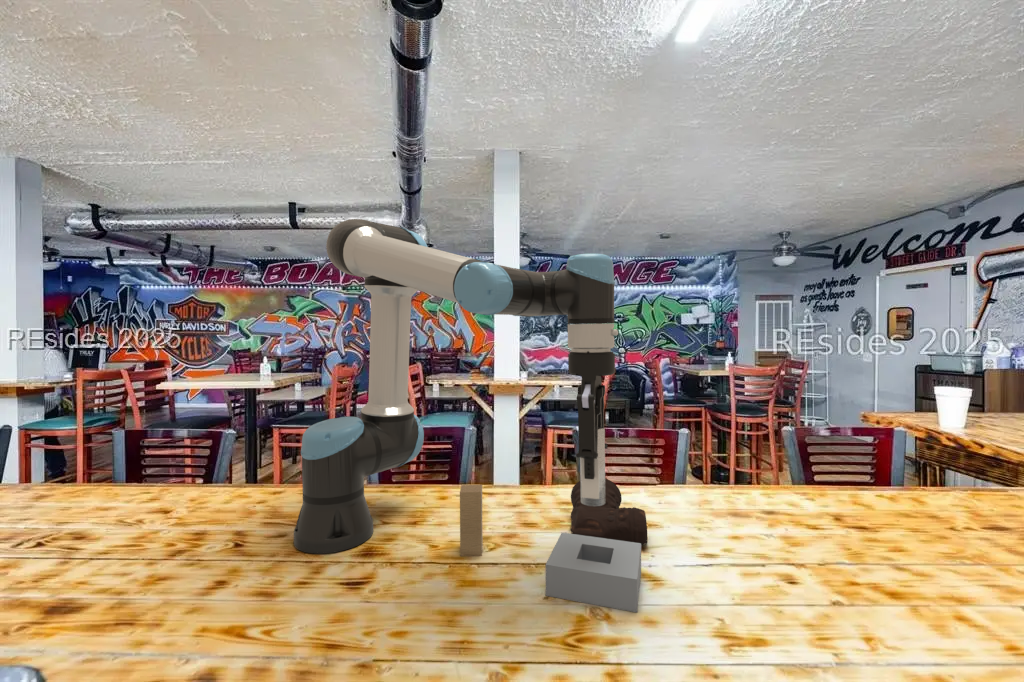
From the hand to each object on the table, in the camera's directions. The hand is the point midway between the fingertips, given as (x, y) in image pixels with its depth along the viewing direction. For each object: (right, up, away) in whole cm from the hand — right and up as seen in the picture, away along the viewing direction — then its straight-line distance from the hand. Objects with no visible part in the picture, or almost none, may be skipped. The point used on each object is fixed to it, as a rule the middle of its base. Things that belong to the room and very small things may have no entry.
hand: (592, 492), depth 76 cm
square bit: (-21, -15, +12) cm, 28 cm away
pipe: (+6, -15, +20) cm, 26 cm away
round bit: (0, -2, 0) cm, 2 cm away
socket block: (+1, -15, +1) cm, 15 cm away
